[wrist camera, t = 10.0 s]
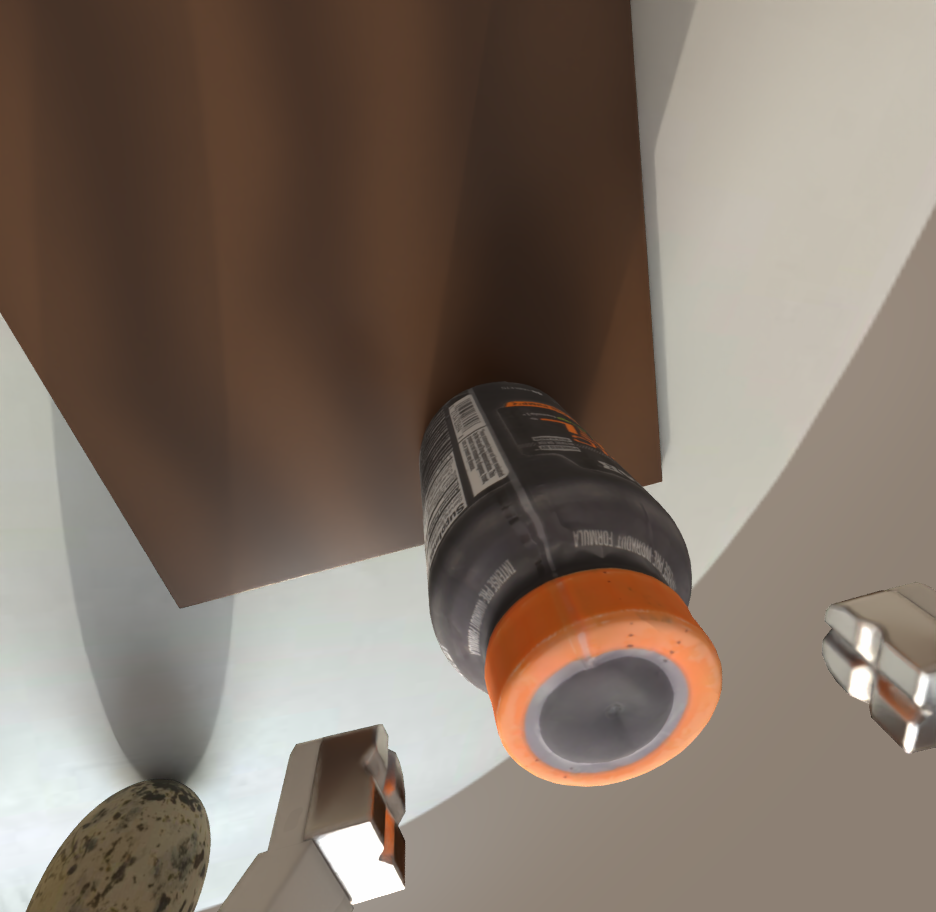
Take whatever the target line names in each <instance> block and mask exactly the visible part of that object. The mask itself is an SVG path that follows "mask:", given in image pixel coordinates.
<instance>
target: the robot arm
mask: <svg viewBox="0 0 936 912" xmlns="http://www.w3.org/2000/svg"><path fill="white" fill-rule="evenodd" d="M825 622H826V623H827V624H828V625H829V626H830V627H831V628H832V629H831V630H830V631H829V633H828V634H827V635H826V636H825V638H824V639H823V647H822V655H823V657H824V660H825V662H826V665H827V668H828V670H829V671H830V673H831V674H832V676H833V677H834V679H835V680H836V682H837V683H838V684H839V685H840V686H841V687H842V688H843V689H844V690H845V691H846V692H847V693H848V694H849V695H851V696H854V697H856V698H858V699H860V700H862V701H865V702H867V703H869V708H870V713H871V718H872V719H873V720H875V721H876V722H877V724H878V725H879V726H880V727H881V728H882V729H883V730H884V731H885V732H886V733H887V734H888V735H889V736H890V737H891V738H892V739H893V740H894V741H895V742H896V743H897V744H898V745H899V746H900V747H901V748H902V749H903V750H904V751H905V752H906V753H907V754H910V753H914V752H918V751H923V750H927V749H931V748H936V591H935V590H934V589H932V588H931V587H929V586H927V585H924V584H920V583H918V582H914V583H910V584H907V585H903V586H899V587H895V588H892V589H888V590H885V591H877V592H874V593H871V594H867V595H863V596H860V597H856V598H853V599H849V600H845V601H842V602H839V603H835V604H831V605H830V606H829V608H828V609H827V610H826V615H825ZM404 814H405V788H404V780H403V773H402V769H401V766H400V762H399V759H398V757H397V755H396V753H395V752H393V751H391V750H389V749H388V734H387V732H386V730H385V728H384V726H383V724H378V725H374V726H370V727H366V728H361V729H357V730H353V731H348V732H344V733H340V734H335V735H331V736H327V737H323V738H319V739H315V740H311V741H307V742H303V743H299V744H296V745H295V747H294V749H293V751H292V752H291V754H290V757H289V761H288V766H287V770H286V774H285V778H284V783H283V787H282V791H281V795H280V800H279V804H278V808H277V813H276V817H275V821H274V825H273V830H272V834H271V838H270V842H269V847H268V851H266V852H263V853H259V854H258V855H257V856H256V858H255V859H254V861H253V862H252V863H251V865H250V866H249V868H248V869H247V870H246V872H245V873H244V875H243V876H242V878H241V879H240V880H239V882H238V883H237V885H236V886H235V887H234V889H233V890H232V892H231V893H230V894H229V896H228V897H227V899H226V900H225V901H224V903H223V904H222V906H221V907H220V909H219V910H218V911H217V912H352V911H353V906H352V904H355V903H359V902H362V901H365V900H369V899H372V898H375V897H378V896H382V895H385V894H388V893H392V892H395V891H398V890H402V889H405V840H404V838H403V835H402V833H401V831H400V829H399V827H398V825H399V823H400V821H401V819H402V817H403V815H404Z"/></svg>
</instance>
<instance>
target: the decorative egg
mask: <svg viewBox="0 0 936 912" xmlns="http://www.w3.org/2000/svg"><path fill="white" fill-rule="evenodd" d="M210 845H211V838H210V826H209V821H208V817H207V813H206V810H205V808H204V806H203V804H202V802H201V800H200V799H199V798H198V796H197V795H196V794H195V793H194V792H193V791H192V790H191V789H190V788H188V787H187V786H185V785H183V784H181V783H179V782H177V781H173V780H166V779H154V780H147V781H143V782H140V783H136V784H134V785H131V786H129V787H127V788H125V789H123V790H121V791H119V792H117V793H115V794H114V795H112V796H110V797H109V798H108V799H106V800H105V801H103V802H102V803H101V804H99V805H98V806H97V807H96V808H95V809H93V810H92V811H91V812H90V813H89V814H88V815H87V816H86V817H85V818H84V819H83V820H82V821H81V822H80V823H79V824H78V825H77V826H76V827H75V829H74V830H73V831H72V832H71V833H70V835H69V836H68V837H67V839H66V840H65V841H64V842H63V844H62V845H61V847H60V848H59V849H58V851H57V853H56V854H55V856H54V857H53V859H52V860H51V862H50V864H49V865H48V867H47V869H46V871H45V872H44V874H43V876H42V878H41V880H40V882H39V884H38V886H37V888H36V890H35V892H34V894H33V896H32V898H31V901H30V903H29V905H28V908H27V910H26V912H194V910H195V908H196V905H197V902H198V899H199V896H200V893H201V890H202V887H203V884H204V880H205V876H206V872H207V868H208V863H209V855H210Z"/></svg>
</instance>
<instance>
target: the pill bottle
mask: <svg viewBox="0 0 936 912" xmlns="http://www.w3.org/2000/svg"><path fill="white" fill-rule="evenodd" d="M419 471H420V483H421V497H422V510H423V525H424V540H425V554H426V564H427V578H428V595H429V608H430V616H431V620H432V625H433V628H434V632H435V635H436V637H437V640H438V643H439V645H440V647H441V649H442V651H443V652H444V654H445V656H446V657H447V659H448V660H449V662H450V663H451V664H452V666H453V667H454V668H455V669H456V670H457V671H458V672H459V673H460V674H461V675H462V676H463V677H464V678H465V679H466V680H468V681H469V682H470V683H471V684H473V685H474V686H475V687H477V688H478V689H480V690H482V691H484V692H485V693H487V694H489V697H490V700H491V702H492V706H493V711H494V716H495V721H496V725H497V729H498V733H499V736H500V739H501V741H502V744H503V746H504V747H505V749H506V750H507V752H508V753H509V755H510V756H511V757H512V758H513V759H514V760H515V761H516V762H517V763H518V764H519V765H520V766H522V767H523V768H524V769H526V770H527V771H529V772H530V773H532V774H534V775H535V776H537V777H540V778H542V779H545V780H548V781H550V782H553V783H557V784H563V785H572V786H599V785H607V784H612V783H616V782H621V781H624V780H628V779H630V778H633V777H637V776H639V775H641V774H644V773H647V772H649V771H650V770H653V769H654V768H656V767H658V766H660V765H662V764H664V763H665V762H667V761H668V760H670V759H671V758H673V757H674V756H676V755H678V754H679V753H680V752H681V751H683V750H684V749H685V748H686V747H687V746H688V745H689V744H690V743H691V742H692V741H693V740H694V739H695V738H696V737H697V736H698V735H699V733H700V732H701V731H702V730H703V728H704V727H705V726H706V724H707V723H708V722H709V720H710V718H711V716H712V714H713V712H714V710H715V708H716V706H717V703H718V701H719V698H720V694H721V690H722V668H721V663H720V660H719V657H718V654H717V651H716V649H715V647H714V645H713V644H712V642H711V640H710V639H709V637H708V636H707V635H706V634H705V632H704V631H703V630H702V628H701V627H700V626H699V625H698V623H697V622H696V621H695V620H694V618H693V617H692V615H691V613H690V612H689V610H688V605H689V601H690V596H691V589H692V573H691V563H690V558H689V554H688V550H687V547H686V544H685V541H684V539H683V537H682V535H681V533H680V531H679V529H678V527H677V526H676V524H675V522H674V521H673V519H672V518H671V516H670V515H669V514H668V513H667V512H666V510H665V509H664V508H663V507H662V506H661V505H660V504H659V503H658V502H657V501H656V500H655V499H654V498H653V497H652V496H651V495H650V494H649V493H648V492H647V491H646V490H645V489H644V488H643V487H642V486H641V485H640V484H639V483H638V482H637V481H636V480H635V479H634V478H633V477H632V476H631V475H630V474H629V473H628V472H627V471H626V470H625V469H624V468H623V467H622V466H621V465H620V464H618V463H617V462H616V461H615V460H614V458H613V457H612V456H610V455H609V454H608V453H607V452H606V451H605V450H604V449H603V448H602V447H601V446H600V445H599V444H598V443H597V442H596V441H595V440H594V439H593V438H592V437H591V436H590V435H589V434H588V432H587V431H585V430H584V429H583V428H582V427H581V426H580V425H579V424H578V423H577V422H576V421H575V420H574V419H573V418H572V417H571V416H570V415H569V414H568V413H567V412H566V411H565V410H564V409H563V408H562V407H561V406H560V405H559V404H558V403H557V402H556V401H555V400H554V399H553V398H551V397H550V396H549V395H547V394H546V393H544V392H542V391H541V390H539V389H536V388H534V387H531V386H529V385H525V384H519V383H510V382H505V381H503V382H492V383H486V384H481V385H477V386H475V387H472V388H470V389H467V390H465V391H463V392H461V393H460V394H458V395H456V396H455V397H453V398H452V399H450V400H449V401H448V402H447V403H446V404H445V405H444V406H443V407H442V408H440V409H439V411H438V412H437V413H436V414H435V416H434V417H433V418H432V420H431V422H430V423H429V425H428V427H427V428H426V431H425V433H424V436H423V440H422V444H421V448H420V455H419Z"/></svg>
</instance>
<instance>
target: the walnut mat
mask: <svg viewBox="0 0 936 912" xmlns="http://www.w3.org/2000/svg"><path fill="white" fill-rule="evenodd" d="M0 313H1V314H2V316H3V318H4V319H5V321H6V323H7V324H8V326H9V328H10V329H11V331H12V333H13V334H14V336H15V338H16V339H17V341H18V342H19V344H20V346H21V347H22V349H23V351H24V352H25V354H26V356H27V357H28V359H29V361H30V362H31V364H32V366H33V367H34V369H35V371H36V372H37V374H38V376H39V377H40V379H41V380H42V382H43V384H44V385H45V387H46V389H47V390H48V392H49V394H50V395H51V397H52V399H53V400H54V402H55V404H56V405H57V407H58V409H59V410H60V412H61V414H62V415H63V417H64V418H65V420H66V422H67V423H68V425H69V427H70V428H71V430H72V432H73V433H74V435H75V437H76V438H77V440H78V442H79V443H80V445H81V447H82V448H83V450H84V452H85V453H86V455H87V456H88V458H89V460H90V461H91V463H92V465H93V466H94V468H95V470H96V471H97V473H98V475H99V476H100V478H101V480H102V481H103V483H104V485H105V486H106V488H107V490H108V491H109V493H110V494H111V496H112V498H113V499H114V501H115V503H116V504H117V506H118V508H119V509H120V511H121V513H122V514H123V516H124V518H125V519H126V521H127V523H128V524H129V526H130V528H131V529H132V531H133V532H134V534H135V536H136V537H137V539H138V541H139V542H140V544H141V546H142V547H143V549H144V551H145V552H146V554H147V556H148V557H149V559H150V561H151V562H152V564H153V566H154V567H155V569H156V570H157V572H158V574H159V575H160V577H161V579H162V580H163V582H164V584H165V585H166V587H167V589H168V590H169V592H170V594H171V595H172V597H173V599H174V600H175V602H176V604H177V605H178V607H179V608H184V607H188V606H192V605H196V604H199V603H203V602H207V601H211V600H215V599H218V598H222V597H226V596H230V595H233V594H237V593H241V592H245V591H249V590H252V589H256V588H260V587H264V586H268V585H271V584H275V583H279V582H283V581H287V580H290V579H294V578H298V577H302V576H306V575H309V574H313V573H317V572H321V571H325V570H328V569H332V568H336V567H340V566H344V565H347V564H351V563H355V562H359V561H362V560H366V559H370V558H374V557H378V556H381V555H385V554H389V553H393V552H397V551H400V550H404V549H408V548H412V547H416V546H419V545H423V544H425V540H424V525H423V510H422V497H421V483H420V471H419V455H420V448H421V444H422V440H423V436H424V433H425V431H426V428H427V427H428V425H429V423H430V422H431V420H432V418H433V417H434V416H435V414H436V413H437V412H438V411H439V409H440V408H442V407H443V406H444V405H445V404H446V403H447V402H448V401H449V400H450V399H452V398H453V397H455V396H456V395H458V394H460V393H461V392H463V391H465V390H467V389H470V388H472V387H475V386H477V385H481V384H486V383H492V382H503V381H505V382H510V383H519V384H525V385H529V386H531V387H534V388H536V389H539V390H541V391H542V392H544V393H546V394H547V395H549V396H550V397H551V398H553V399H554V400H555V401H556V402H557V403H558V404H559V405H560V406H561V407H562V408H563V409H564V410H565V411H566V412H567V413H568V414H569V415H570V416H571V417H572V418H573V419H574V420H575V421H576V422H577V423H578V424H579V425H580V426H581V427H582V428H583V429H584V430H585V431H587V432H588V434H589V435H590V436H591V437H592V438H593V439H594V440H595V441H596V442H597V443H598V444H599V445H600V446H601V447H602V448H603V449H604V450H605V451H606V452H607V453H608V454H609V455H610V456H612V457H613V458H614V460H615V461H616V462H617V463H618V464H620V465H621V466H622V467H623V468H624V469H625V470H626V471H627V472H628V473H629V474H630V475H631V476H632V477H633V478H634V479H635V480H636V481H637V482H638V483H639V484H640V485H641V486H642V487H643V486H647V485H651V484H655V483H658V482H662V469H661V454H660V439H659V424H658V409H657V394H656V379H655V364H654V350H653V335H652V320H651V305H650V290H649V275H648V260H647V245H646V230H645V215H644V201H643V186H642V171H641V156H640V141H639V126H638V111H637V96H636V81H635V66H634V51H633V37H632V22H631V7H630V0H0Z"/></svg>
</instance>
